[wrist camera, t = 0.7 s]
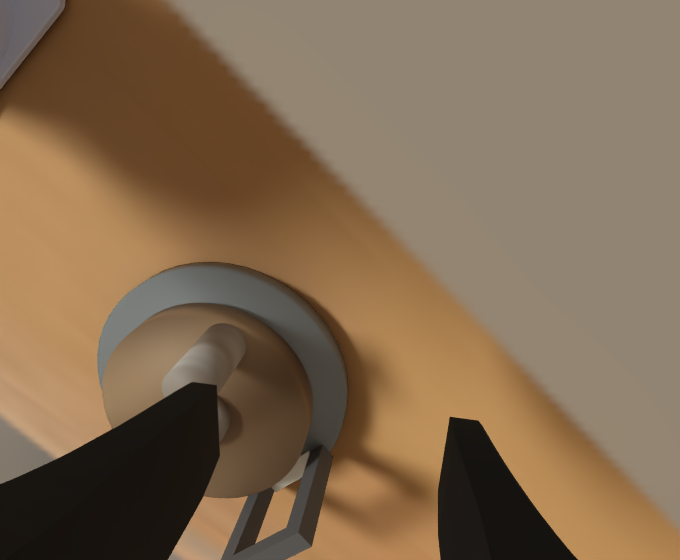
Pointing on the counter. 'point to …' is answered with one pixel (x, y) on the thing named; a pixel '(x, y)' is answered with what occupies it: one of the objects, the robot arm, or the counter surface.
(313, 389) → the disc
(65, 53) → the counter surface
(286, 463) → the capstan disc
